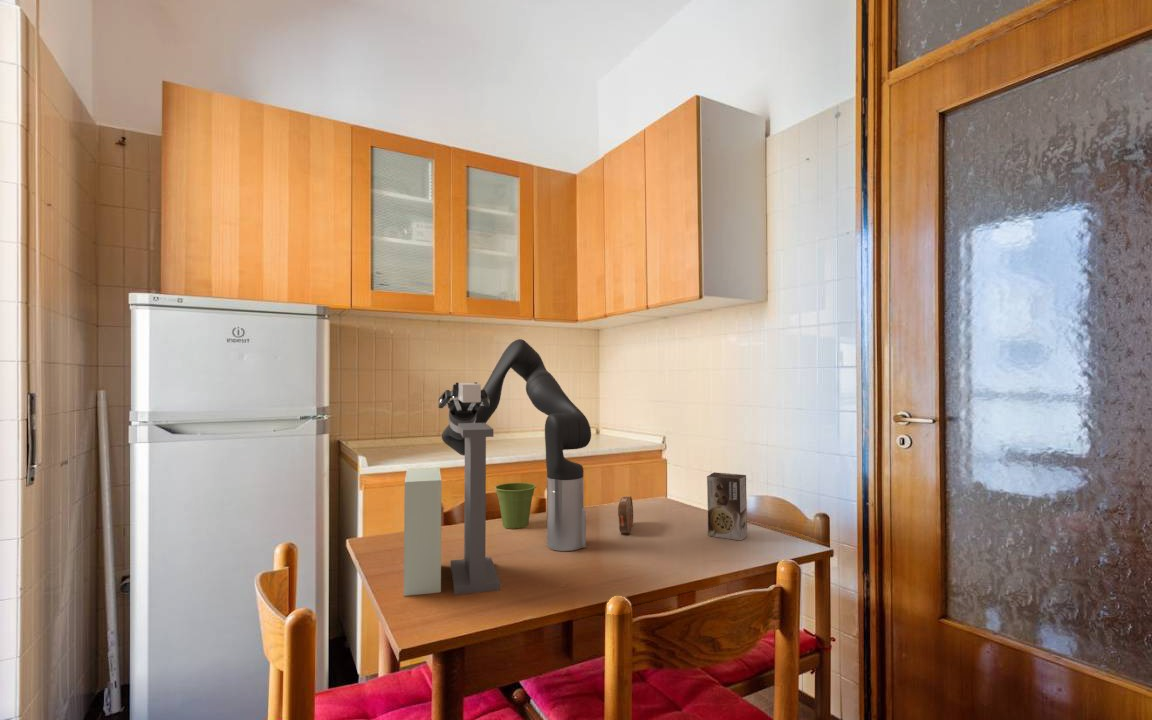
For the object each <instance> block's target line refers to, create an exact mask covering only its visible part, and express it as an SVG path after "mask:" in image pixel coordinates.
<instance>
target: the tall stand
mask: <svg viewBox="0 0 1152 720" xmlns="http://www.w3.org/2000/svg"><path fill="white" fill-rule="evenodd" d="M458 431H459V432H460V434H461V435H462V437H463V438H465V455H464V504H463V505H464V511H463V512H464V516H463V517H464V519H463V520H464V524H463V525H464V527H463V528H464V530H463V533H464V534H463V535H464V537H463V539H464V541H463V542H464V543H463V547H464V549H463V551H464V553H463V559H461V558H460V559H453V560H452V559H451V560H450V574H451V580H452V587H453V593H454V594H453V595H454V596H455V595H456V596H457V595H464V594H465V595H466V594H474V593H483V592H484V593H485V592H494V591H501V580H500V577H499V575H498V574H499V573H498V572H497V570H496V567H495V564H494V561H493V558H492V556H486V542H487V541H486V537H487V536H486V534H487V533H486V529H487V528H486V526H487V525H486V521H487V520H486V519H487V518H486V516H487V514H486V513H487V512H486V508H487V507H486V506H487V505H486V504H487V502H486V501H487V500H486V499H487V496H486V495H487V493H486V491H487V487H486V484H487V479H486V477H487V472H486V471H487V438H494V428H492V427H491V426H490V425H489V424H487V422H486V423H458Z"/></svg>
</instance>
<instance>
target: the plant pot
mask: <svg viewBox="0 0 1152 720" xmlns="http://www.w3.org/2000/svg"><path fill="white" fill-rule="evenodd" d="M536 488H537V486H536V484H534V483H528V482H508V483H500V484H497V485H495V486H494V489H495V490H496V496H497V499H498V504H499V509H500V516H501V522H502V526H503V528H504V529H505V528H506V529H512V530H516V529H518V528H521V529H523V528H526V527H528V526H529V522H530V515H531V507H532V502H533V501H532V500H533V497H534V493H535V489H536Z"/></svg>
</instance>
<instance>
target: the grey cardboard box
mask: <svg viewBox="0 0 1152 720" xmlns="http://www.w3.org/2000/svg"><path fill="white" fill-rule="evenodd" d="M706 487H707V489H706V490H707V494H706V495H707V536H708V537H716V538H722V539H729V540H734V541H735V540H736V541H742V540H743V539H745V538H746V537H747V536H748V513H747V512H748V511H747V510H748V509H747V504H748V503H747V475H746V474H739V473H729V472H728V473H726V472H713V473H710V474H709V475H706Z"/></svg>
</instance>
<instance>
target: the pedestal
mask: <svg viewBox="0 0 1152 720" xmlns="http://www.w3.org/2000/svg"><path fill="white" fill-rule="evenodd" d="M442 480H443V479H442V475H441V470H440V467H439V466H437V467H417V468H415V467H413V468H411V467H410V468H406V473H405V478H404V499H403V500H404V505H403V506H404V511H403V512H404V517H403V519H404V520H403V525H404V527H403V528H404V529H403V596H404V597H408V596H409V597H410V596H418V595H426V594H427V595H428V594H436V593H441V592H442V591H441V590H442V485H443V484H442V483H443V482H442Z"/></svg>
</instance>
